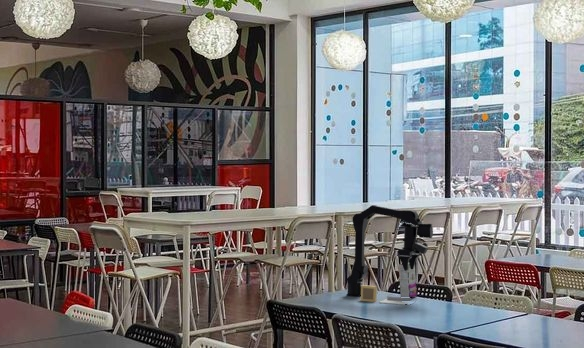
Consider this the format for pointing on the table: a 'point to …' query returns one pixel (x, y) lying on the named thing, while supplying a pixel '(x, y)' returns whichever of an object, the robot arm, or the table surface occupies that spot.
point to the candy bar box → (407, 281)
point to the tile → (368, 293)
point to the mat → (395, 300)
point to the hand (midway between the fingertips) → (408, 270)
